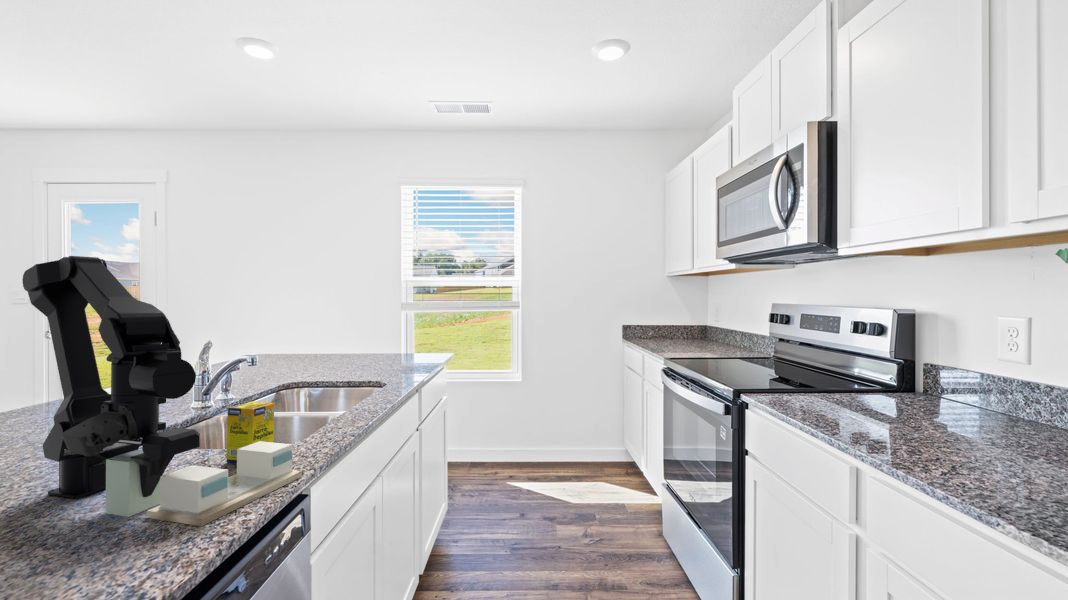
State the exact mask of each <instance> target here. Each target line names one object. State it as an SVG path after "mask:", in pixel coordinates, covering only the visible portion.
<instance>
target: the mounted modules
mask: <svg viewBox="0 0 1068 600" xmlns="http://www.w3.org/2000/svg"><path fill="white" fill-rule="evenodd" d="M292 469H293V444H291V443H281V442H280V443H279V442H274V443H273V442H263V441H259V442H256V443H253V444H250V445H248V446H245V447H242V448H239V449H237V464H236V474H237V475H239V476H248V477H256V478H264V479H272V478H274V477H277V476H279V475H281V474H283V473H285V472H287V471H290V470H292ZM228 477H229V469H226V468H220V467H219V468H217V467H211V466H210V467H208V466H202V465H188V466H186V467H184V468H181V469H178V470H175V471H172V472H169V473H166V474H163V476H160V504H159V506H160V507H163V508H170V509H177V510H183V511H190V512H197V513H199V512H201V511H203V510H205V509H207V508H210V507H212V506H214V505H216V504H218V503H220V502H223V501H225V500H227V499H228Z"/></svg>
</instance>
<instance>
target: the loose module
mask: <svg viewBox="0 0 1068 600" xmlns="http://www.w3.org/2000/svg"><path fill="white" fill-rule="evenodd" d="M142 453H143V451H142V449H140V448H139V449H138V450H135V451H131V452H128V453H125V454H121V455H118V456H114V457H113V458H109V459H106V489H105V514H108V515H114V516H121V517H126V518H130V517H133V516H134V515H136V514H139V513H142V512H144V511H146V510H150V509H152V508H155V507H157V506H160V480H159V482H158V484H157V486H156V488H155V490H154V491H153V493H152V495H151V496H148V497H143V496H142V491H141V481H140V469H139V464H137V463H136V462H135V461H133V460H132V459H131V458H130V457H132V456H135V455H138V454H142ZM163 475H164V474H163ZM163 475H162V476H163Z"/></svg>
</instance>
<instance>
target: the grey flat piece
mask: <svg viewBox="0 0 1068 600" xmlns="http://www.w3.org/2000/svg"><path fill="white" fill-rule="evenodd" d="M293 470H294V469H293V468H292V470H290V471H287V472H285V473H283V474H281V475H279V476H277V477H274V478H272V479H264V478H256V477H248V476H239V475H236V476H234V477H231V478H229V479H228V499H227V500H225V501H223V502H220V503H218V504H216V505H214V506H212V507H210V508H207V509H205V510H203V511H201V512H199V513H197V512H190V511H183V510H177V509H170V508H163V507H159V508H158V511H165V512H172V513H178V514H185V515H192V516H198V515H200V514H203V513H205V512H207V511H209V510H211V509H213V508H215V507H218V506H220V505H222V504H224V503H226V502H228V501H230V500H232V499H235V498H237V497H239V496H241V495H243V494H245V493H247V492H250V491H252V490H254V489H256V488H258V487H260V486H262V485H264V484H267V483H269V482H271V481H273V480H275V479H277V478H279V477H282V476H284V475H286V474H288V473H290V472H292V471H293Z"/></svg>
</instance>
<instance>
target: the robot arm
mask: <svg viewBox="0 0 1068 600" xmlns="http://www.w3.org/2000/svg"><path fill="white" fill-rule="evenodd" d="M22 287H23V290H25V291H26V292H27V295H28V297H29V302H30V304H31V305H32V306H33V307H34V308H35V309H36V310H38V311H40V312H41V314H43V315H44V316H45V317H47V321H48V326H49V332H50V335H51V340H52V341H51V342H52V345H53V351H54V356H55V361H56V364H57V365H56V366H57V371H58V376H59V380H60V381H59V382H60V385H61V390H62V395H63V399H62V402H61V403H60V405H59V406H58V408H57V410H56V412H55V414H54V415H53V426H52V427H51V430H50V432H49V433H48V435H47V437H46V438H45V440H44V442H43V444H42V450H43V456H44V457H43V458H45V459H47V460H51V461H53V462H57V463H58V487H57V488H54V489H50V490H48V491H47V495H49V496H56V497H61V498H62V497H63V498H67V499H69V498H70V499H80V498H82V497H85V496H89V495H91V494H93V493H97V492H99V491H102V490H106V459H109V458H113V457H114V456H118V455H121V454H125V453H128V452H131V451H135V450H138V449H140V446H141V447H142V449H141V450H142V451H143V453H142V454H138V455H135V456H132V457H130V458H131V459H132V460H133V461H135V462H136V463H137V464H139V469H140V481H141V491H142V496H143V497H148V496H151V495H152V493H153V491H154V490H155V488H156V486H157V484H158V482H159V480H160V476H162V475H164V473H165V471H166V469H167V468H168V466H169V465H170V463H171V462H172V460H173V458H174V457H175V455H176V456H177V455H179V454H182V453H185V452H187V451H191V450H194V449H197V448H198V449H199V448H200V447H201V433H199V432H198V431H197V430H196V429H195V428H183V427H175V428H171V429H168V430H166V429H167V422H164V421H160V405H161V404H162V405H163V404H167V400H175V399H178V398H181V397H182V398H183V396H185V395H186V394H188V393H189V392H190V391H191V390H192V388H193V387H194V386H195V383H196V379H197V373H196V372H195V368H194V367H193V365H192V364H191V363H190V362H189V361H187V360H184V359H183V358H182V348H181V347H180V343H181V341H180V340H179V338H178V336H177V335H176V333H175V332H174V330H173V329H172V325H171V323H170V320H169V319H168V317H167V316H166V315H165V313H164V312H163V311H161V310H160V309H158V307H156V306H155V305H153V304H152V303H147V302H145V301H141V300H138V299H136V298H134V296H133V295H132V294H131V292H129V291H128V289H126V288H125V286H124V285H123V284H122V283H121V282H120V280H119V279H117V278H116V276H115V275H113V273H112V272H111V271H110V270H109V268H108V265H107V262H106V260H105V259H103V258H99V257H98V256H97V257H96V256H94V257H93V256H78V255H69V256H63V257H62V258H60V259H58V260H53V261H47V262H42V263H36V264H34V265H33V266H31V267H29V268H28V269H26V270H25V271H24V273H23V275H22ZM88 304H89V305H90V306H91V308H92V309H93V310H94V311H95V312H96V313H97V315H98V316H99V318H100V323H99V326H98V329H97V330H98V332H99V334H100V337H101V339H102V341H103V342H104V345H106V347H107V349H109V351H110V353H109V354H108V355H107V356H106V361H107V362H109V363H110V362H111V364H110V367H111V369H110V372H111V373H110V381H111V382H110V393H109V392H108V391H106V389H103V386H102V382H101V378H100V377H101V376H100V373H99V368H98V364H97V358H96V355H95V350H94V345H93V341H92V337H91V336H92V335H91V332H90V327H89V322H88V318H87V314H86V308H87V307H88Z"/></svg>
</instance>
